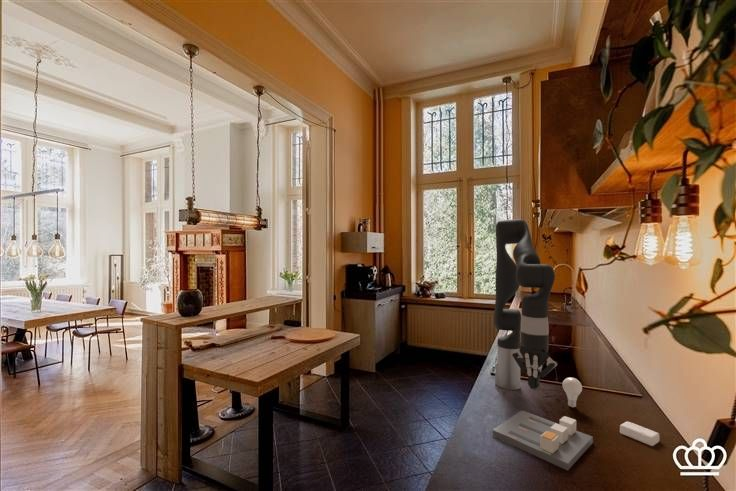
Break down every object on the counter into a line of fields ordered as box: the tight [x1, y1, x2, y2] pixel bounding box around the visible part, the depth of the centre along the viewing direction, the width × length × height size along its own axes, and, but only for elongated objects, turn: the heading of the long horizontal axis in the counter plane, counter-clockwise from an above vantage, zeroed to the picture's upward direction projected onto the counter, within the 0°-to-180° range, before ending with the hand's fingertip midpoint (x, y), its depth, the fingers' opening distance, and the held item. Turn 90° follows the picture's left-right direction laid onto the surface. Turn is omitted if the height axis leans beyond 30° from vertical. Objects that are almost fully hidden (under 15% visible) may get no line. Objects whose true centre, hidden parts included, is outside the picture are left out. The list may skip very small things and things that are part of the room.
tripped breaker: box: [540, 431, 559, 453], centre depth 100 cm, size 4×4×4 cm
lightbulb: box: [562, 376, 583, 408], centre depth 130 cm, size 6×6×11 cm
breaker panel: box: [492, 410, 594, 471], centre depth 108 cm, size 22×20×6 cm
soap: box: [619, 421, 660, 447], centre depth 110 cm, size 9×6×3 cm, turn 32°
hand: (533, 388), depth 103 cm, fingers closed
